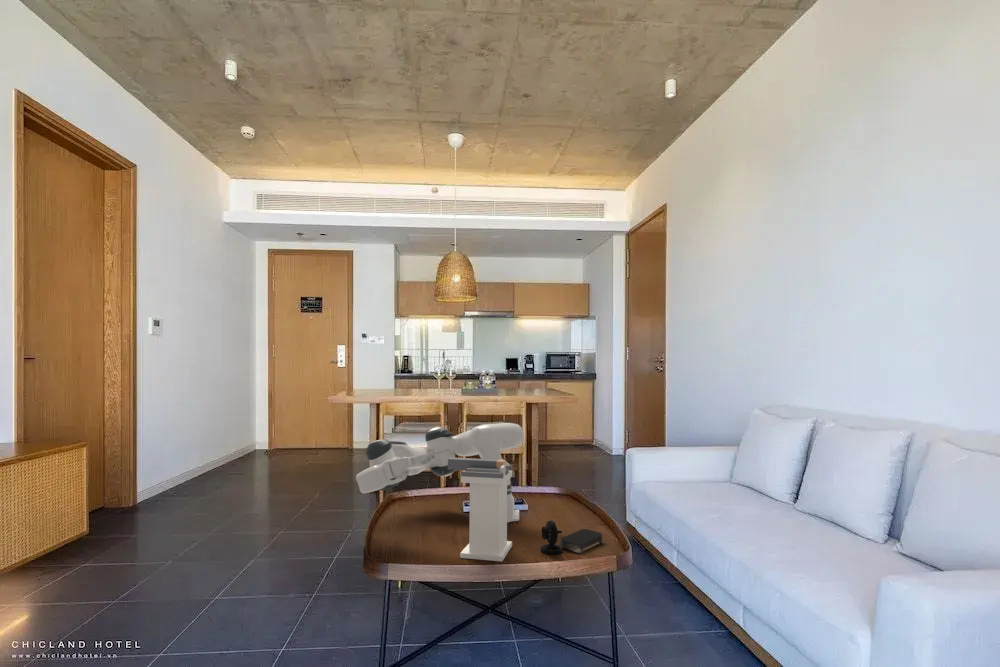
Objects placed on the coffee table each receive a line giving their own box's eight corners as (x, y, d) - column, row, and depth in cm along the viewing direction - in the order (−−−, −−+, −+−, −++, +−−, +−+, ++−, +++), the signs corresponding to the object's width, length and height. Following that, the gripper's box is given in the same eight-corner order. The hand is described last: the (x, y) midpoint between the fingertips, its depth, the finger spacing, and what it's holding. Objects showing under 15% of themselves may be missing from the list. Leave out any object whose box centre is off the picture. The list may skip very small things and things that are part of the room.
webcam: (537, 548, 180) (537, 518, 181) (558, 546, 182) (557, 517, 183) (544, 555, 173) (544, 524, 173) (566, 554, 174) (565, 523, 175)
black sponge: (584, 538, 192) (584, 528, 192) (604, 543, 186) (604, 532, 186) (558, 549, 180) (557, 538, 180) (578, 555, 174) (578, 543, 174)
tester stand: (473, 542, 185) (474, 459, 187) (512, 545, 182) (512, 460, 184) (460, 557, 170) (461, 466, 172) (502, 561, 167) (502, 468, 169)
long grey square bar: (451, 467, 187) (451, 457, 188) (505, 470, 183) (505, 459, 183) (447, 469, 184) (447, 459, 184) (503, 472, 179) (503, 461, 179)
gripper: (410, 476, 199) (443, 463, 197) (386, 479, 180) (422, 465, 178) (406, 460, 201) (438, 447, 199) (381, 462, 182) (416, 448, 180)
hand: (430, 456), depth 188 cm, fingers open, 8 cm apart
